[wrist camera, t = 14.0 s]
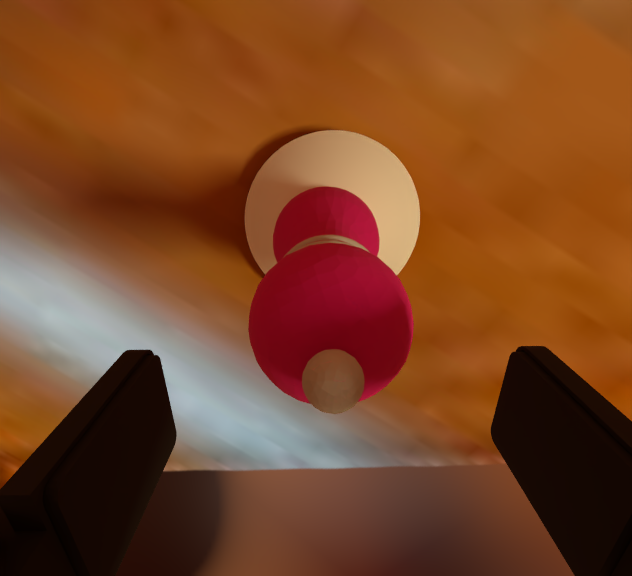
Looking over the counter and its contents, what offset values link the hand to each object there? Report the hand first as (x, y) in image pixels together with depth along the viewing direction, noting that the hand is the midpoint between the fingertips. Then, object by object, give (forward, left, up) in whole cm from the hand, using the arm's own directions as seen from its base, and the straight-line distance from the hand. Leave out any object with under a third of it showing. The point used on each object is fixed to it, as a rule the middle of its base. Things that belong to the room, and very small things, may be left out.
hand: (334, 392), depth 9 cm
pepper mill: (0, 0, -20) cm, 20 cm away
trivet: (+1, 0, -21) cm, 21 cm away
